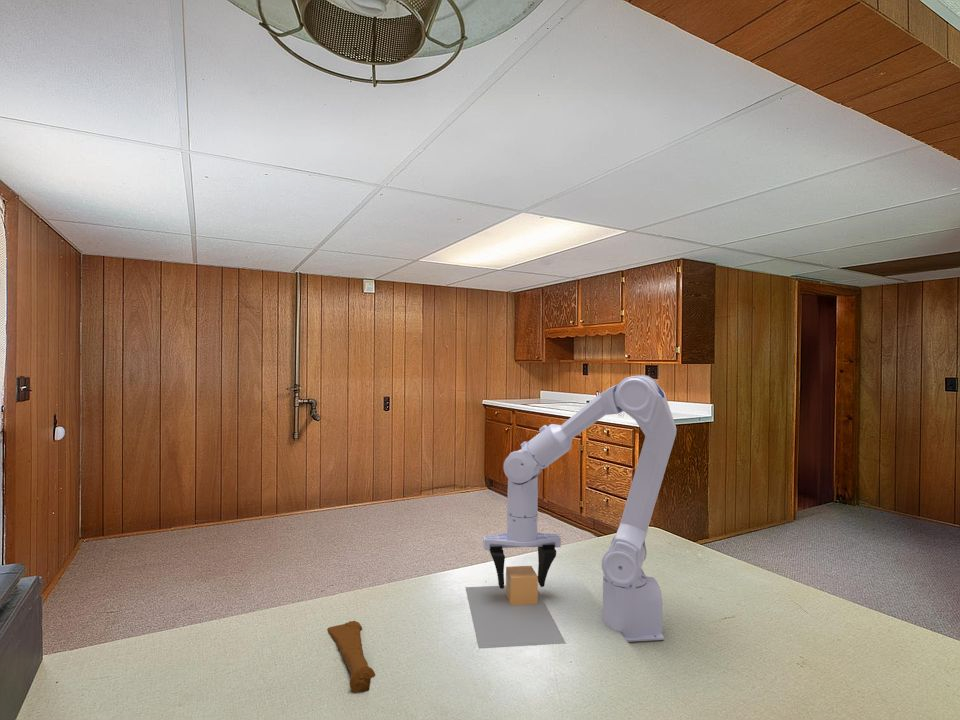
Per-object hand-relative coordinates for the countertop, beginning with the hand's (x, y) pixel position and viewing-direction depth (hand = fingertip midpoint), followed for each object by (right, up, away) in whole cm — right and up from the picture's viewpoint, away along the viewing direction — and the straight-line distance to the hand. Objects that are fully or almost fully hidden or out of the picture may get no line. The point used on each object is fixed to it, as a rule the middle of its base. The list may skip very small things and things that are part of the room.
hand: (521, 585), depth 95 cm
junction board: (-2, -4, -5) cm, 7 cm away
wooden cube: (0, -2, 0) cm, 2 cm away
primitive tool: (-28, -4, -16) cm, 33 cm away
